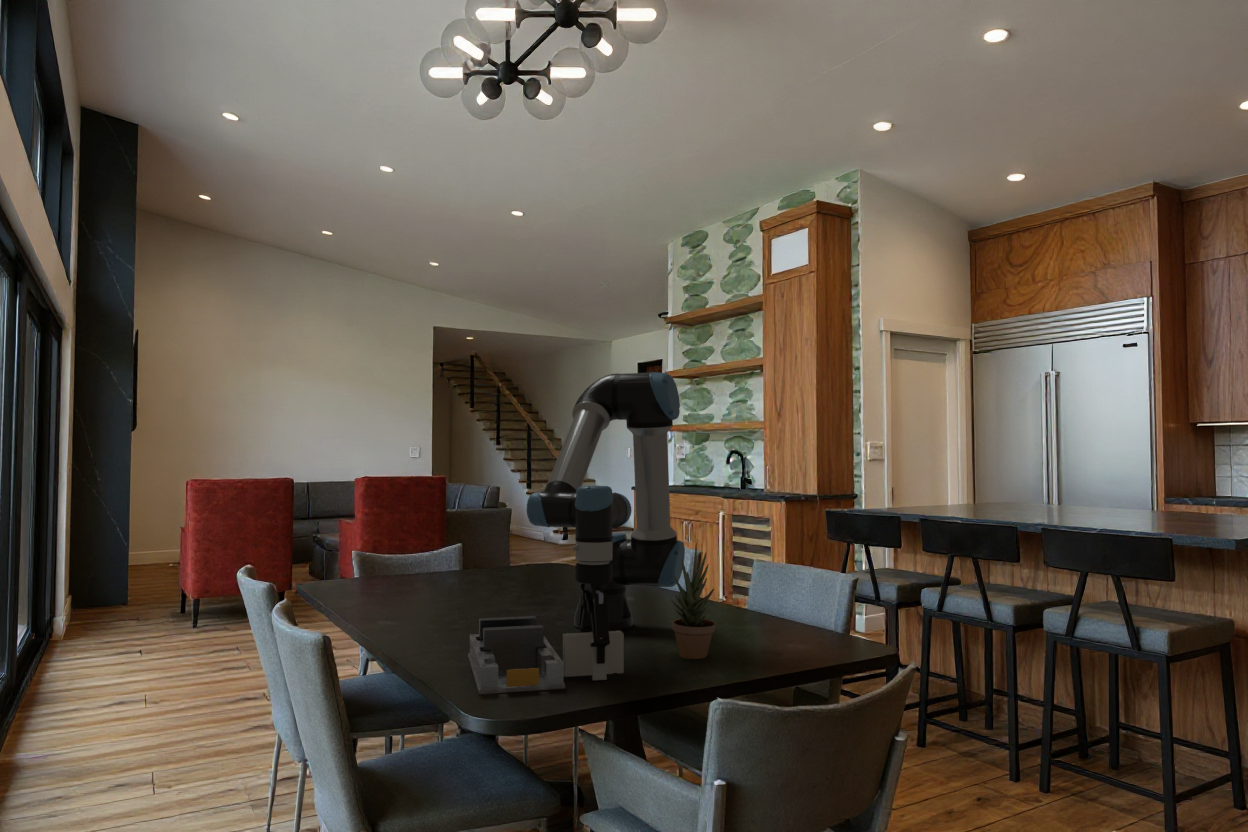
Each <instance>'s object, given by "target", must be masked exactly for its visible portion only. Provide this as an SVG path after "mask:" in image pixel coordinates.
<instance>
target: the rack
mask: <svg viewBox="0 0 1248 832" xmlns="http://www.w3.org/2000/svg"><path fill="white" fill-rule="evenodd" d="M537 620H538V618H537V617H536V616H535V615H526V616H525V615H523V616H520V615H519V616H502V617H484V618H483V617H481V618H478V634H475V633H473V634H472V633H469V652H467V653H468V654H467V656H468V660H469V664H470V668H471V671H472V675H473V678H474V682H475V685H476V689H477V692H478V695H490V694H491V695H492V694H504V693H519V692H533V691H534V692H535V691H548V690H549V691H550V690H562V689H566V683H565V682H564V663H563V659H561V657H560V656H559V655H558V653H557V652H556V651H555V649H554V648H553V646H552V645H551V644H550V642H549V640H548V639H547V637H546V636H545V635H544V634H545V626H543V625H542V624H537Z"/></svg>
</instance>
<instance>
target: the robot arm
mask: <svg viewBox="0 0 1248 832" xmlns="http://www.w3.org/2000/svg"><path fill="white" fill-rule="evenodd" d="M680 403H681V401H680V394H679V390H678V386H677V384H676V382H675V380H674V378H673V377H672V375H670V374H669V373H665V372H654V371H651V372H634V373H633V372H632V373H618V372H617V373H609V374H607V375H604V376H603V377H600V378H598V379H597V380H595V381H594V382H592V383H591V384H590V385H589V386H588V387H587V388H586V389H584V390H583V393H581V394H580V396H579V397H578V398H577V401H575V405H574V406H573V409H572V414H571V415H572V419H573V420H572V422H571V425H570V426H569V430H568V432H567V434H566V437H565V440H564V441H563V445H562V447H561V449H560V452H559V454H558V456H557V459H556V462H555V464H554V467H553V469H552V471H551V474H550V477H549V479H548V481H547V484H546V486H545V487H544V491H542V490H541V491H536V492H533V493H532V494H530V495H529V497H528V499H527V501H526V502H527V503H526V515H527V519H528V521H529V523H530V524H531V525H534V526H536V527H545V528H575V539H574V540H575V545H573V546H572V551H574V552H575V553H574V554H575V557H574V559H575V560H576V561H577V562H576V564H575V565H574V580H575V582H576V583H580V598H579V600H578V603H577V606H576V610H575V612H574V617H573V626H574V627H576V628H578V629H579V631H580V632H579V633H587V632H593V640H594V643H591V645H590V646H591V647H592V675H591V679H592V681H604V680H605V681H606V680H607V679H608V678H607V675H608V674H607V645H609V644H610V640H609V631H621V630H624V629H628V628H631V627H633V626H634V624H633V623H634V622H633V621H634V619H633V614H632V610H631V606H630V604H629V603H630V602H629V601H628V597H627V586H631V587H632V586H634V587H636V586H637V587H654V588H673V587H675V586H677V583H676V580H675V577H676V579H677V580H678V582H679V581H680V579H681V576H682V573H683V568H682V560H683V563H684V564H685V557H686V556H685V555H686V554H685V553H686V552H685V551H686V548H685V543H684V541H682V540H678V533H677V531H676V530H674V528H672V526H671V507H670V506H671V505H670V504H671V503H670V477H669V474H670V473H669V450H668V448H669V447H668V446H669V445H668V432H669V431H670V430H671V429H672V427H674V422H673V421H675V420H676V419H678V418H679V416H680V407H681V405H680ZM615 420H618V421H619V420H620V421H623V420H624V421H626V423H625V424H626V429H627V430H628V431H629V432H631V433H632V440H633V441H632V443H633V444H632V445H633V465H634V466H633V467H634V472H633V473H634V487H635V488H634V489H635V490H634V491H635V492H634V494H635V514H636V515H635V518H636V527H635V529H634V530H633V531H632V532H631V534H630V539H628V537H627V535H626V533H625V532H623V533H622V532H618V533H613V529H618V528H621V527H622V526H624V525H626V523H627V522H628V521H629V520H630V518H631V515H632V505H631V503H630V500H629V499H628V497H626V496H625V495H624V494H622V493H618V492H613V489H612V487H611V486H608V485H583V484H584V480H585V478H586V476H587V472H588V471H589V467H590V465H591V462H592V459H593V456H594V454H595V451H596V448H597V446H598V443H599V440H600V438H601V435H602V432H603V431H604V430H606V429H607V428H608V427H609V426H610V422H611V421H615ZM600 638H603V639H600Z"/></svg>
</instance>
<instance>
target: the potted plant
mask: <svg viewBox="0 0 1248 832" xmlns="http://www.w3.org/2000/svg"><path fill="white" fill-rule="evenodd" d="M697 546H698V544H697V542H695V546H694V558H693V559H694V560H693V568H692V569H693V571H692V577H691V578H692V579H690V575H689V571H687V570H686V566H685V562H684V563H683V560H682V568H683V570H682V573H683V578H684V585H685V589H683V586H681V584H680V582H679V581H678V580H677V579H676V577H675V580H676V583H677V584H676V586H677V587H678V590H679V593H678V596H677V595H675V597H676V598H675V599H676V601H677V602H678V603H679V605H680V606H679V605H678V604H676V603H675V602H674V601H673V600H671V603H672V604H673V605H674V606H675V607H676V608H677V609H676V608H673V610H674V611H675V612H676V613H677V614H678V615H679V617H681V618H676V619H674V620H672V622H671V625H672V626H671V629H672V631H674V635H675V640H676V644H677V649H678V653H679V657H680V658H683V659H686V660H687V659H688V660H701V659H704V658H706V657H707V656H708V653H709V652H708V651H709V648H710V646H711V645H710V644H711V641H712V638H713V634H714V632H715V631H716V622H715V621H713V620H709V619H706V617H707V614H705V615H704V613H705V611H706V609H707V608H706V607H705V606H706V604H707V603H708V601H709V600H710V598H711V596H712V594H713V593H714V591H715V588H712V589H711V590H710V592H709V593H708V594H707V595H706V596H705V597H702V598H701V595H702V593H703V590H704V589H705V586H706V584H707V581H708V578H707V577H706V575H707V574H708V573H707V572H708V568H709V564H710V563H707V565H706V567H705V569H704V566H705V563H706V559H707V552H704V556H703V558H702V561H701V564H700V566H699V569H698V571H697V565H698V564H697V563H698V562H697V560H698V559H697V558H698V549H697V548H698V547H697ZM705 577H706V578H705ZM700 598H701V599H700ZM703 615H704V616H703Z"/></svg>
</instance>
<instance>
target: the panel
mask: <svg viewBox="0 0 1248 832" xmlns="http://www.w3.org/2000/svg"><path fill="white" fill-rule="evenodd" d="M624 635H625V634H624V632H623V631H622V630H609V640H610V644H609V645H607V675H614V674H613V673H617V674H624V673H625V672H624V670H625V669H624V668H625V667H624V665H625V664H624V663H625V661H624V659H625V658H624V654H625V653H624V650H625V649H624V647H625V646H624V645H625V643H624V642H625V641H624V639H625V637H624ZM600 639H603V638H600ZM591 643H594V640H593V632H587V633H582V632H574V633H573V632H571V633H562V661H563V663H564V675H563V677H565V678H567V677H569V678H570V677H585V676H592V647H591V646H590V645H591Z"/></svg>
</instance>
